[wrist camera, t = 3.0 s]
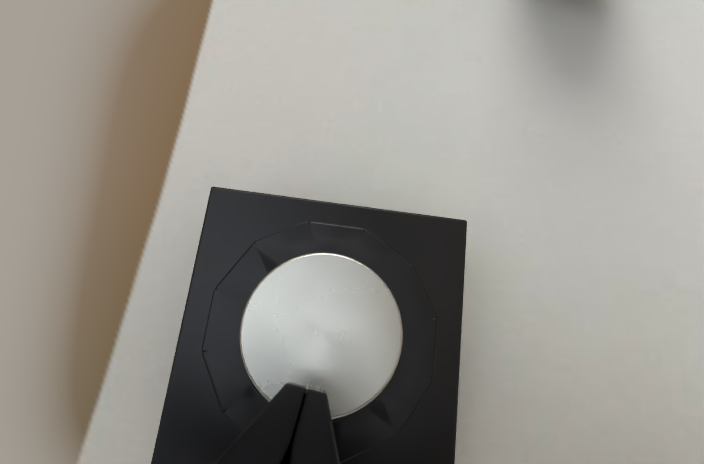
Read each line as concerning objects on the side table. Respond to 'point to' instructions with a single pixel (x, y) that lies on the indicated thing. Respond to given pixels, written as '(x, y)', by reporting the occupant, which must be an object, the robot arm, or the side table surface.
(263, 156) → the side table surface
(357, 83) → the side table surface
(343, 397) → the hob knob
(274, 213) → the hob block
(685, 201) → the side table surface
